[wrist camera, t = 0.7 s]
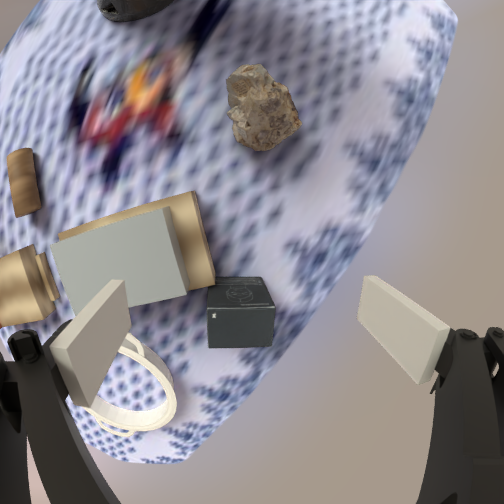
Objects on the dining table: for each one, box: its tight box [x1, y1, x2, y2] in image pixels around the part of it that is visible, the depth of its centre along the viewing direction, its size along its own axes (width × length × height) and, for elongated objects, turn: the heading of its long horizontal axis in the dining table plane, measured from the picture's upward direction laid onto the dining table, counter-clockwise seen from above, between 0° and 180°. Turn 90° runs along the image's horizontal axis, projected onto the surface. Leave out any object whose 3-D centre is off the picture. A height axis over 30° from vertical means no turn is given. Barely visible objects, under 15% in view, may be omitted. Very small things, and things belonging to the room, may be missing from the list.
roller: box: [7, 148, 42, 218], centre depth 30 cm, size 10×5×5 cm, turn 12°
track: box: [0, 191, 215, 329], centre depth 31 cm, size 12×46×10 cm, turn 102°
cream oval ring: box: [83, 332, 177, 437], centre depth 40 cm, size 29×22×5 cm
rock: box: [226, 64, 302, 151], centre depth 30 cm, size 9×12×10 cm
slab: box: [50, 206, 190, 316], centre depth 30 cm, size 10×16×4 cm, turn 102°
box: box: [207, 277, 276, 348], centre depth 35 cm, size 8×6×11 cm
